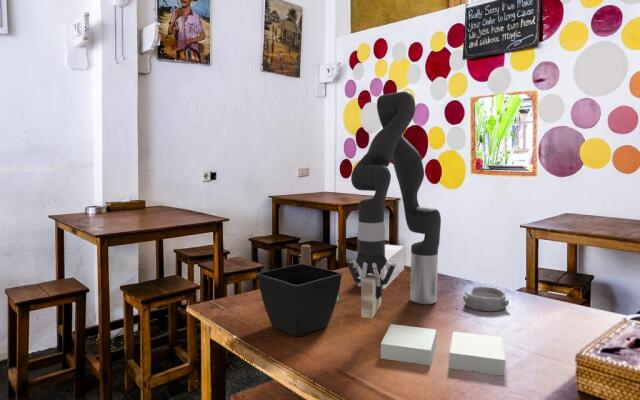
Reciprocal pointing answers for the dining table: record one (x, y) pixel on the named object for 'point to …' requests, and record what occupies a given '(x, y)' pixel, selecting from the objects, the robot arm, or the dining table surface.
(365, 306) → the beige metallic bar
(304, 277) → the flower pot
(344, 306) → the dining table surface
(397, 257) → the long white block
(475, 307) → the dish
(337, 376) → the dining table surface
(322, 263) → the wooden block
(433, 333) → the slotted board
